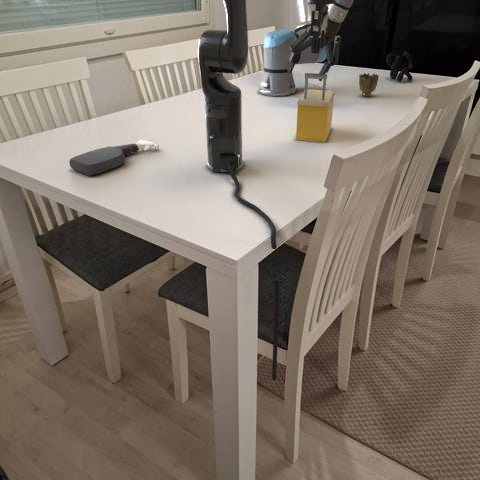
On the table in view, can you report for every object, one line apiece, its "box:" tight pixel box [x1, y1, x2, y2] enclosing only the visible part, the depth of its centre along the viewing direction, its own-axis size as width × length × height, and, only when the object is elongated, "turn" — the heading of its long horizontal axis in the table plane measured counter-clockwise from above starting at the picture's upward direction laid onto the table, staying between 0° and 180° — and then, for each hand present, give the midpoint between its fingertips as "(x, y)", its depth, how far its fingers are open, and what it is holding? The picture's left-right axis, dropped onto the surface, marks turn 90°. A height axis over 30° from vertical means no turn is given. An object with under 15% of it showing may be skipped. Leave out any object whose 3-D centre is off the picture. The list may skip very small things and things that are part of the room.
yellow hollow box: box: [295, 95, 335, 143], centre depth 138 cm, size 13×9×11 cm
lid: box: [296, 72, 335, 107], centre depth 132 cm, size 14×9×8 cm, turn 163°
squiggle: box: [385, 51, 414, 83], centre depth 198 cm, size 11×10×15 cm
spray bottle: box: [68, 139, 160, 177], centre depth 124 cm, size 3×11×24 cm
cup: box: [358, 72, 380, 98], centre depth 176 cm, size 8×7×8 cm
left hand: (317, 50), depth 123 cm, fingers open, 8 cm apart
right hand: (304, 75), depth 165 cm, fingers open, 13 cm apart
